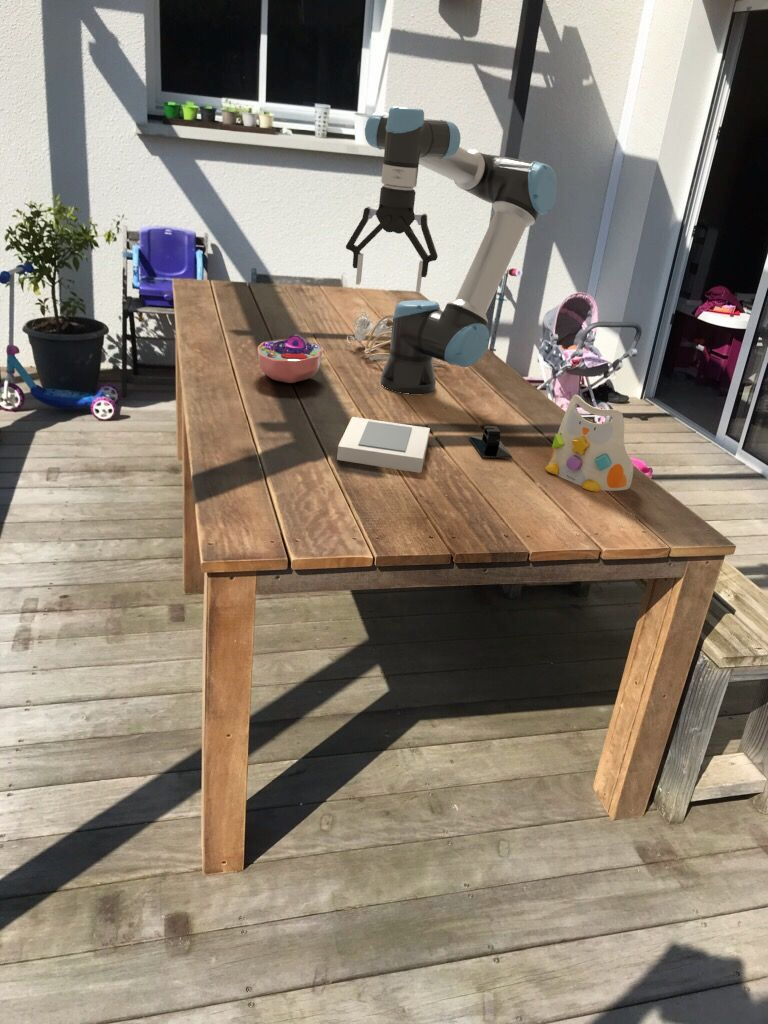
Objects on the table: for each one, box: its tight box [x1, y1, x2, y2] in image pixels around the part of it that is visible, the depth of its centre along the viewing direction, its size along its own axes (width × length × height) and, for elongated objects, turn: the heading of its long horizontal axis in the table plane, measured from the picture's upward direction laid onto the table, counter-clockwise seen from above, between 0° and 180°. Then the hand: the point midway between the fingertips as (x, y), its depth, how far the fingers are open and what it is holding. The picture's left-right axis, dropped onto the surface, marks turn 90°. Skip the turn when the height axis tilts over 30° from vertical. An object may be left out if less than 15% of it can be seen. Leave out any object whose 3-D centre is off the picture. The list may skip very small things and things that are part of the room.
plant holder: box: [346, 309, 446, 368], centre depth 249 cm, size 28×35×16 cm
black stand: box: [468, 425, 513, 459], centre depth 191 cm, size 12×7×5 cm, turn 9°
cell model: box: [257, 334, 324, 384], centre depth 219 cm, size 17×20×11 cm
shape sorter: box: [545, 394, 634, 493], centre depth 179 cm, size 20×10×18 cm, turn 45°
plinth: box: [336, 416, 431, 474], centre depth 183 cm, size 18×18×4 cm
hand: (388, 287), depth 187 cm, fingers open, 13 cm apart
